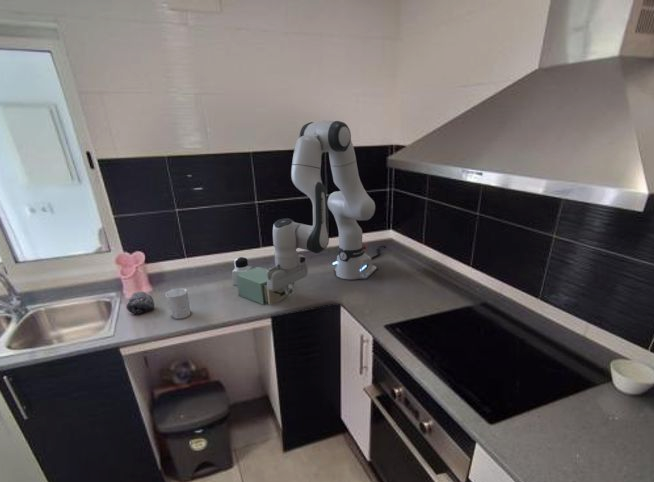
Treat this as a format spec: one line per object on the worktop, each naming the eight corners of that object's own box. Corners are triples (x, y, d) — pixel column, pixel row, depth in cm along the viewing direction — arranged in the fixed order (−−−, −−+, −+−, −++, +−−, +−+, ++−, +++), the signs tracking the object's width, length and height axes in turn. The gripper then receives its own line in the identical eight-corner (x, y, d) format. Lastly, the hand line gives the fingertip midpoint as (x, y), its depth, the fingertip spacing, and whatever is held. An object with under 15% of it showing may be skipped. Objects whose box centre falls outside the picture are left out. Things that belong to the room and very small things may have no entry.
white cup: (171, 312, 154) (165, 290, 150) (191, 309, 157) (186, 286, 152) (171, 321, 148) (165, 298, 143) (192, 317, 150) (187, 294, 146)
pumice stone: (141, 322, 152) (161, 306, 158) (131, 308, 147) (152, 292, 153) (126, 315, 157) (146, 300, 162) (116, 301, 152) (137, 286, 157)
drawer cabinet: (284, 294, 168) (282, 274, 164) (263, 304, 160) (260, 283, 155) (260, 285, 177) (258, 266, 172) (239, 295, 168) (236, 275, 163)
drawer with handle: (297, 297, 163) (296, 281, 159) (278, 307, 155) (276, 290, 151) (266, 286, 173) (264, 270, 169) (247, 295, 165) (244, 279, 162)
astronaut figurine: (253, 279, 183) (250, 256, 177) (248, 285, 177) (245, 261, 171) (239, 279, 183) (235, 255, 178) (233, 285, 177) (230, 261, 171)
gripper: (272, 271, 141) (276, 304, 147) (309, 255, 155) (310, 286, 161) (261, 267, 144) (265, 300, 151) (297, 252, 158) (299, 283, 165)
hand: (289, 293), depth 156 cm, fingers closed, pressing on drawer with handle
